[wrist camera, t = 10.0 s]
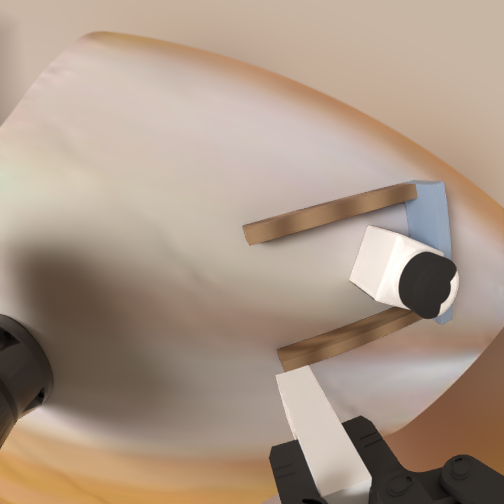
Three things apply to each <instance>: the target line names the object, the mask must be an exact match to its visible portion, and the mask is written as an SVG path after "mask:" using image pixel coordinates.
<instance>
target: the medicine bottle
mask: <svg viewBox="0 0 504 504" xmlns="http://www.w3.org/2000/svg"><path fill="white" fill-rule="evenodd" d="M349 280H350V282H351V283H353V284H354V285H355V286H357V287H358V288H359V289H361V290H362V291H363V292H365V293H366V294H367V295H369V296H370V297H371V298H373V299H374V300H375V301H377V302H381V303H385V304H389V305H393V306H397V307H401V308H405V309H409V310H411V311H413V312H414V313H416V314H417V315H419V316H420V317H422V318H424V319H432V318H435V317H438V316H440V315H441V314H443V313H444V312H445V311H446V310H447V309H448V308H449V307H450V306H451V304H452V303H453V301H454V299H455V297H456V294H457V291H458V286H459V276H458V271H457V268H456V266H455V264H454V263H453V262H452V261H451V260H450V259H448V258H445V257H444V253H443V252H441V251H439V250H437V249H435V248H432V247H430V246H428V245H425V244H423V243H421V242H418V241H416V240H414V239H411V238H409V237H406V236H404V235H402V234H399V233H396V232H392V231H389V230H386V229H383V228H379V227H376V226H373V225H369V226H368V227H367V230H366V233H365V236H364V239H363V242H362V245H361V248H360V251H359V253H358V256H357V259H356V262H355V265H354V267H353V270H352V273H351V275H350V278H349Z"/></svg>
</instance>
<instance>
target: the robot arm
mask: <svg viewBox="0 0 504 504" xmlns="http://www.w3.org/2000/svg"><path fill="white" fill-rule="evenodd" d="M275 376H276V380H277V383H278V387H279V391H280V395H281V398H282V402H283V406H284V410H285V413H286V417H287V420H288V422H289V425H290V428H291V431H292V433H293V436H294V439H295V440H293V441H290V442H287V443H283V444H280V445H276V446H273V447H272V449H271V453H270V457H269V459H270V463H271V467H272V470H273V474H274V478H275V482H276V485H277V489H278V493H279V496H280V500H281V503H282V504H504V476H503V475H501V474H500V473H498V472H496V471H495V470H493V469H491V468H490V467H488V466H487V465H485V464H483V463H481V462H480V461H479V460H477V459H475V458H474V457H472V456H469V455H457V456H455V457H452V458H451V459H449V460H448V461H447V462H446V463H445V465H444V466H443V467H441V468H438V469H434V470H431V471H426V472H420V473H419V472H412V471H408V470H407V469H405V468H404V467H403V466H402V465H401V464H400V463H399V461H398V460H397V458H396V457H395V455H394V454H393V453H392V451H391V449H390V448H389V447H388V445H387V444H386V442H385V441H384V440H383V438H382V436H381V435H380V433H378V431H377V429H376V428H375V426H374V425H373V423H372V422H371V421H369V420H368V419H366V418H364V417H363V416H359V417H356V418H354V419H351V420H349V421H346V422H344V423H341V422H340V421H339V419H338V417H337V415H336V414H335V412H334V410H333V408H332V407H331V405H330V403H329V401H328V399H327V398H326V396H325V394H324V392H323V391H322V389H321V387H320V385H319V384H318V382H317V380H316V378H315V376H314V375H313V373H312V371H311V369H310V368H309V366H308V365H307V366H304V367H301V368H298V369H295V370H292V371H288V372H285V373H282V374H278V375H275ZM52 385H53V378H52V372H51V368H50V365H49V363H48V360H47V358H46V356H45V354H44V353H43V351H42V349H41V348H40V346H39V345H38V343H37V342H36V341H35V339H34V338H33V337H32V336H31V335H30V334H29V333H28V331H26V330H25V329H24V328H23V327H22V326H21V325H20V324H18V323H17V322H16V321H14V320H12V319H10V318H8V317H6V316H3V315H0V448H1V447H2V445H3V443H4V442H5V440H6V438H7V436H8V435H9V433H10V431H11V430H12V428H13V426H14V425H15V423H16V422H17V420H18V419H20V418H21V417H23V416H25V415H26V414H28V413H30V412H31V411H33V410H35V409H36V408H38V407H40V406H41V405H42V404H43V403H44V402H45V400H46V399H47V397H48V396H49V394H50V392H51V390H52Z"/></svg>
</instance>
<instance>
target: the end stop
mask: <svg viewBox="0 0 504 504" xmlns="http://www.w3.org/2000/svg"><path fill="white" fill-rule="evenodd" d="M405 183H406V184H416V190H417V196H418V198H415V199H411V200H408V201H405V206H406V213H407V219H408V226H409V234H410V238H411V239H414V240H416V241H418V242H421V243H423V244H425V245H428V246H430V247H432V248H435V249H437V250H439V251H441V252H443V253H444V257H445V258H448V259H450V260H451V261H452V253H451V238H450V226H449V217H448V208H447V200H446V193H445V186H444V182H439V181H419V180H413V181H409V182H405ZM452 306H453V303H452V304H451V306H450V307H449V308H448V309H447V310H446V311H445V312H444V313H443V314H441V315H440V316H438V317H435V318H432V319H433V320H434V321H436V322H437V323H439V324H440V325H442V324H444V323H446V322H448V321H450V320H451V319H452Z"/></svg>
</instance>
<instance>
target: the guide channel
mask: <svg viewBox="0 0 504 504" xmlns="http://www.w3.org/2000/svg"><path fill="white" fill-rule="evenodd" d="M415 198H418V196H417V190H416V184H406V183H400V184H396V185H392V186H388V187H384V188H380V189H377V190H373V191H369V192H365V193H361V194H357V195H353V196H349V197H346V198H342V199H338V200H334V201H330V202H327V203H323V204H319V205H315V206H312V207H308V208H304V209H301V210H297V211H293V212H290V213H286V214H282V215H279V216H275V217H272V218H268V219H265V220H261V221H258V222H254V223H250V224H247V225H243V230H244V233H245V237H246V240H247V242H248V244H249V245H254V244H257V243H261V242H264V241H268V240H271V239H274V238H278V237H281V236H285V235H288V234H292V233H295V232H299V231H302V230H306V229H309V228H313V227H316V226H320V225H323V224H327V223H330V222H334V221H337V220H341V219H344V218H348V217H351V216H355V215H358V214H362V213H365V212H369V211H372V210H376V209H379V208H383V207H386V206H390V205H393V204H397V203H401V202H404V201H408V200H411V199H415ZM421 319H423V318H422V317H420V316H419V315H417V314H416V313H414V312H413V311H411V310H409V309H405V308H401V307H397V306H395V307H393V308H390V309H388V310H386V311H383V312H381V313H378V314H376V315H373V316H371V317H368V318H365V319H363V320H360V321H358V322H355V323H352V324H350V325H347V326H344V327H342V328H339V329H336V330H333V331H331V332H328V333H325V334H322V335H319V336H316V337H313V338H310V339H307V340H304V341H301V342H298V343H295V344H292V345H289V346H286V347H283V348H280V349H277V351H278V355H279V358H280V361H281V364H282V366H283V369H284V372H288V371H292V370H295V369H298V368H301V367H304V366H307V365H310V364H313V363H316V362H319V361H321V360H324V359H327V358H330V357H333V356H335V355H338V354H341V353H343V352H346V351H349V350H351V349H354V348H356V347H359V346H361V345H364V344H366V343H369V342H371V341H374V340H376V339H378V338H381V337H383V336H385V335H388V334H390V333H392V332H395V331H397V330H399V329H401V328H404V327H406V326H408V325H410V324H412V323H414V322H417V321H419V320H421Z"/></svg>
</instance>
